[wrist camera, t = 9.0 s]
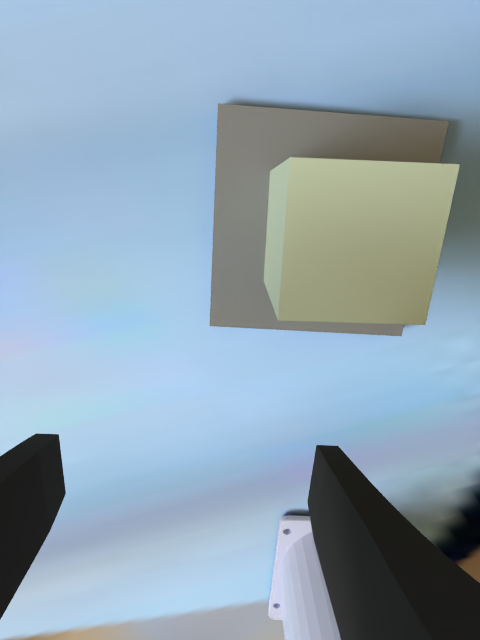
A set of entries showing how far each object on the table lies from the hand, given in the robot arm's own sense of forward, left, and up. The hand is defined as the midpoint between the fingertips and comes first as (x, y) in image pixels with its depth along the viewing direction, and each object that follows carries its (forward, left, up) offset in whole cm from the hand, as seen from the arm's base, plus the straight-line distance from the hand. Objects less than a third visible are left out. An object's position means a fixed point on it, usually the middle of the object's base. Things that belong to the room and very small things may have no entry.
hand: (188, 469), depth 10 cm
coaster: (+6, -5, -10) cm, 13 cm away
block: (+6, -5, -9) cm, 12 cm away
